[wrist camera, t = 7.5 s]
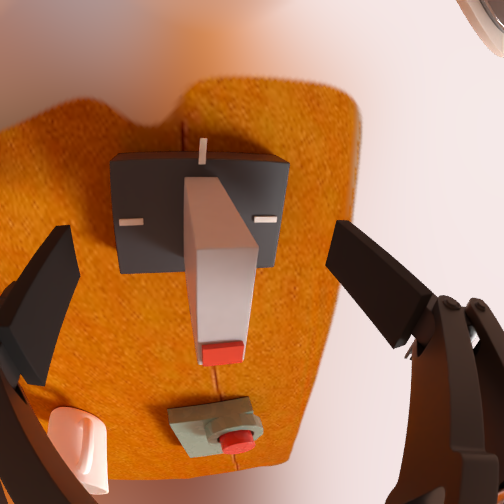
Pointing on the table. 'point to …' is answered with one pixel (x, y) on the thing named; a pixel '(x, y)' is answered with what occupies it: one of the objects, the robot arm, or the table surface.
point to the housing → (212, 424)
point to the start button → (237, 442)
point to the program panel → (172, 202)
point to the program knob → (217, 271)
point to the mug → (81, 446)
